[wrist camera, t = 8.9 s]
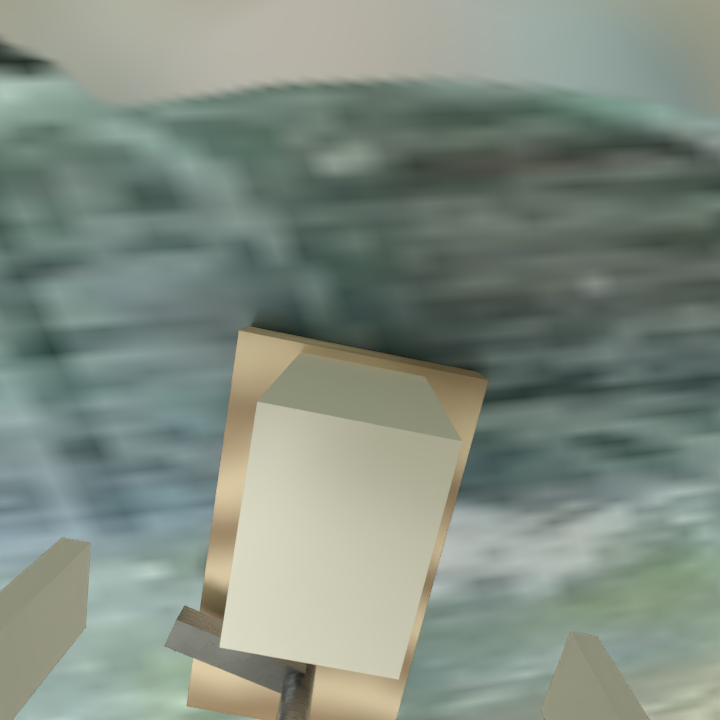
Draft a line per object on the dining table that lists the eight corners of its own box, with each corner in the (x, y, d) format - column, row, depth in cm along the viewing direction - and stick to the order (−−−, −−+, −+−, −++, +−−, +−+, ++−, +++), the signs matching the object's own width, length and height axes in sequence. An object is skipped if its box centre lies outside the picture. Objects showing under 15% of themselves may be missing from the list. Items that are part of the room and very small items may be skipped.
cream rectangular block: (376, 576, 25) (382, 739, 16) (265, 555, 25) (209, 709, 16) (424, 376, 22) (462, 441, 14) (300, 351, 22) (257, 401, 13)
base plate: (388, 711, 30) (389, 741, 28) (198, 677, 29) (186, 706, 27) (478, 371, 24) (488, 380, 22) (249, 326, 24) (239, 330, 22)
